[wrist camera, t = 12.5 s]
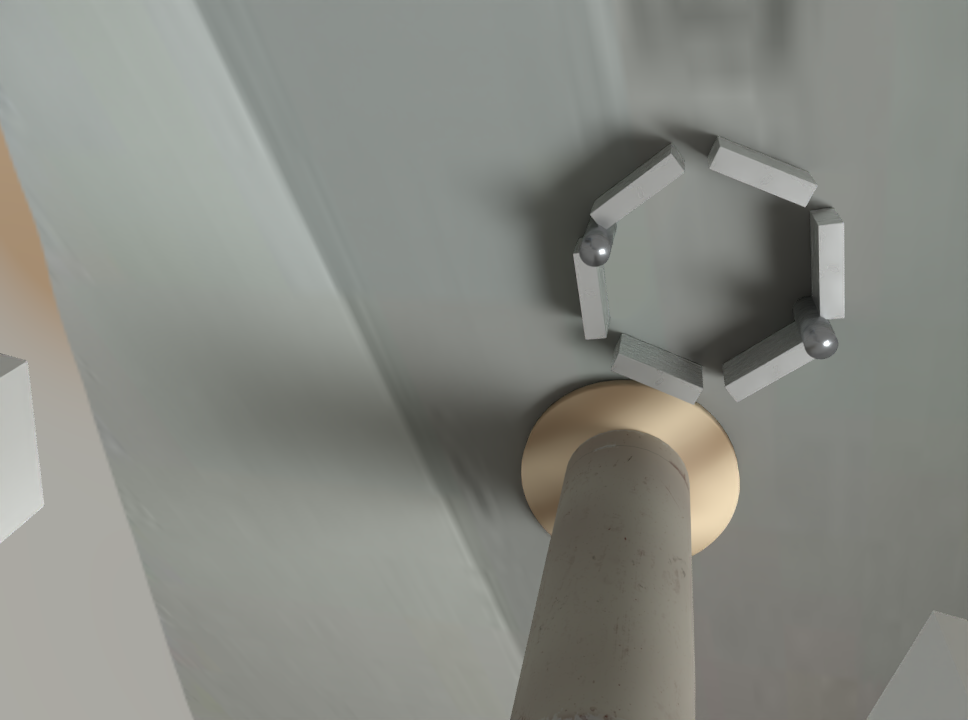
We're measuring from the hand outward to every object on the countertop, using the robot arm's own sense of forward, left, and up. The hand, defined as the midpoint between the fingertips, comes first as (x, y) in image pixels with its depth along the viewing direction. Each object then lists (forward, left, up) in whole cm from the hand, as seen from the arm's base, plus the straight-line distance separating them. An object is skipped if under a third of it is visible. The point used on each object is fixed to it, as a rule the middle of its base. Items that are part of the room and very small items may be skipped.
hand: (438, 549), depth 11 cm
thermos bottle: (+18, -13, -35) cm, 42 cm away
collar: (+9, -1, -36) cm, 37 cm away
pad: (+18, -13, -36) cm, 42 cm away
